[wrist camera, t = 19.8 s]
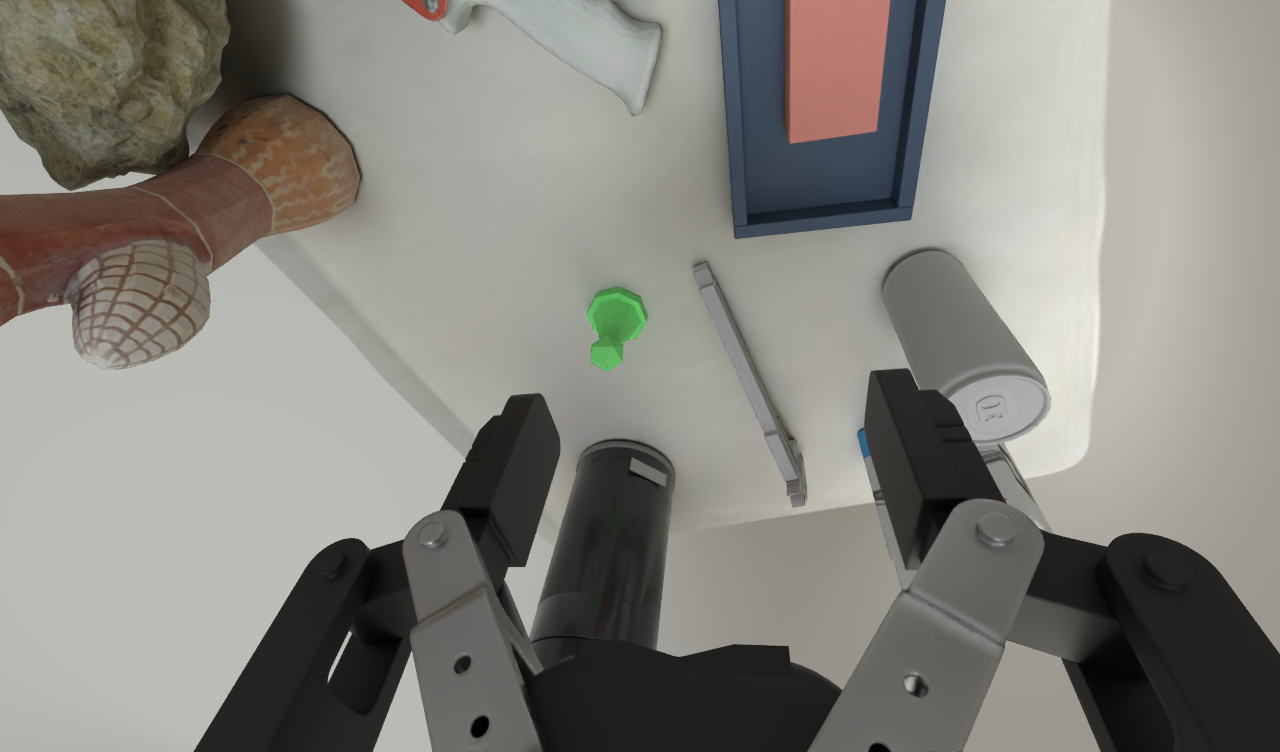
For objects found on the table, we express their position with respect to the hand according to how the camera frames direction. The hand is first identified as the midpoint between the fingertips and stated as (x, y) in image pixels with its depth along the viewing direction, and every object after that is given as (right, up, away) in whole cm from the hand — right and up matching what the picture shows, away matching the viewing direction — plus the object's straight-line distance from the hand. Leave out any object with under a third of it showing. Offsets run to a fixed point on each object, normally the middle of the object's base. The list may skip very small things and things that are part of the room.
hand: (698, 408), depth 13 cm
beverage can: (+16, +7, +20) cm, 27 cm away
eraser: (+8, +17, +12) cm, 22 cm away
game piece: (-3, +6, +25) cm, 25 cm away
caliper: (+7, +1, +27) cm, 28 cm away
